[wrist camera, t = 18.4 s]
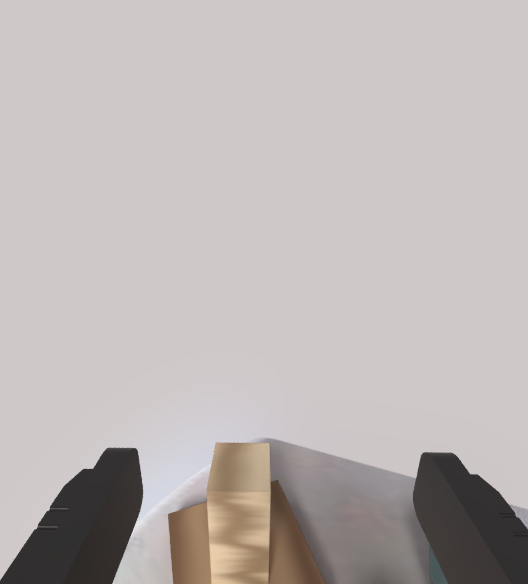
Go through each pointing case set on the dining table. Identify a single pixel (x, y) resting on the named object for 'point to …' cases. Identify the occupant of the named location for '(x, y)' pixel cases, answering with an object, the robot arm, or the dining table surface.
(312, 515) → the dining table surface
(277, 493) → the walnut slab
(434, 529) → the robot arm
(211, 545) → the oak pillar
